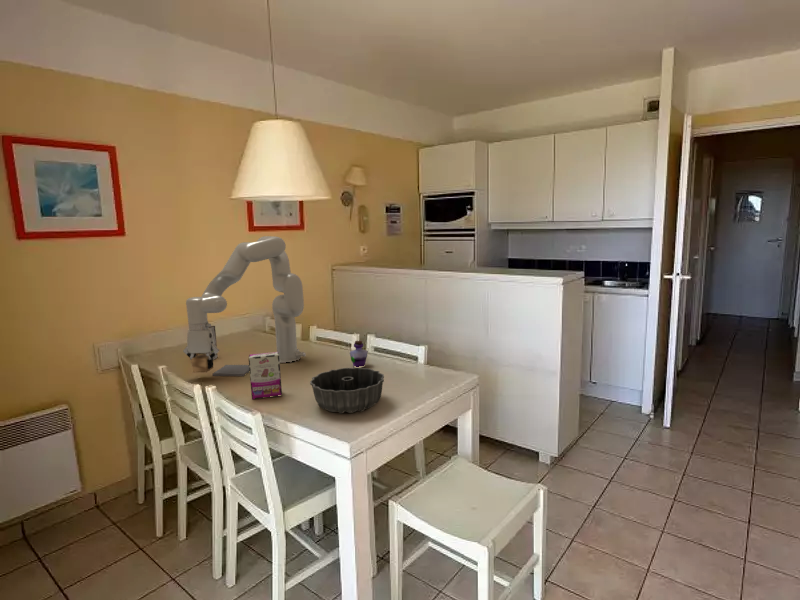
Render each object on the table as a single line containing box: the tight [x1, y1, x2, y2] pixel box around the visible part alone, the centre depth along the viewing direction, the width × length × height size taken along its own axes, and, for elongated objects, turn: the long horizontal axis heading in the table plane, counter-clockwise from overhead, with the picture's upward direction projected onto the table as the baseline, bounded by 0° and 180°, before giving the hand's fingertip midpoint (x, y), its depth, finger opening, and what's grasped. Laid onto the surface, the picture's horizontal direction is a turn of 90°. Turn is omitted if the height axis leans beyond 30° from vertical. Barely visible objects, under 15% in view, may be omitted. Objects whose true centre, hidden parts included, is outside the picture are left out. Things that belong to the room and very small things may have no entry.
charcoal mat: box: [212, 364, 250, 377], centre depth 210 cm, size 14×13×1 cm
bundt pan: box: [309, 367, 385, 414], centre depth 169 cm, size 26×26×10 cm
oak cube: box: [190, 355, 214, 374], centre depth 199 cm, size 6×6×6 cm
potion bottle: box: [349, 340, 369, 367], centre depth 213 cm, size 9×9×12 cm
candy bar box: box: [247, 351, 283, 400], centre depth 178 cm, size 11×5×16 cm, turn 105°
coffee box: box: [196, 325, 218, 361], centre depth 230 cm, size 9×6×16 cm
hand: (203, 367), depth 200 cm, fingers closed on oak cube, 6 cm apart
